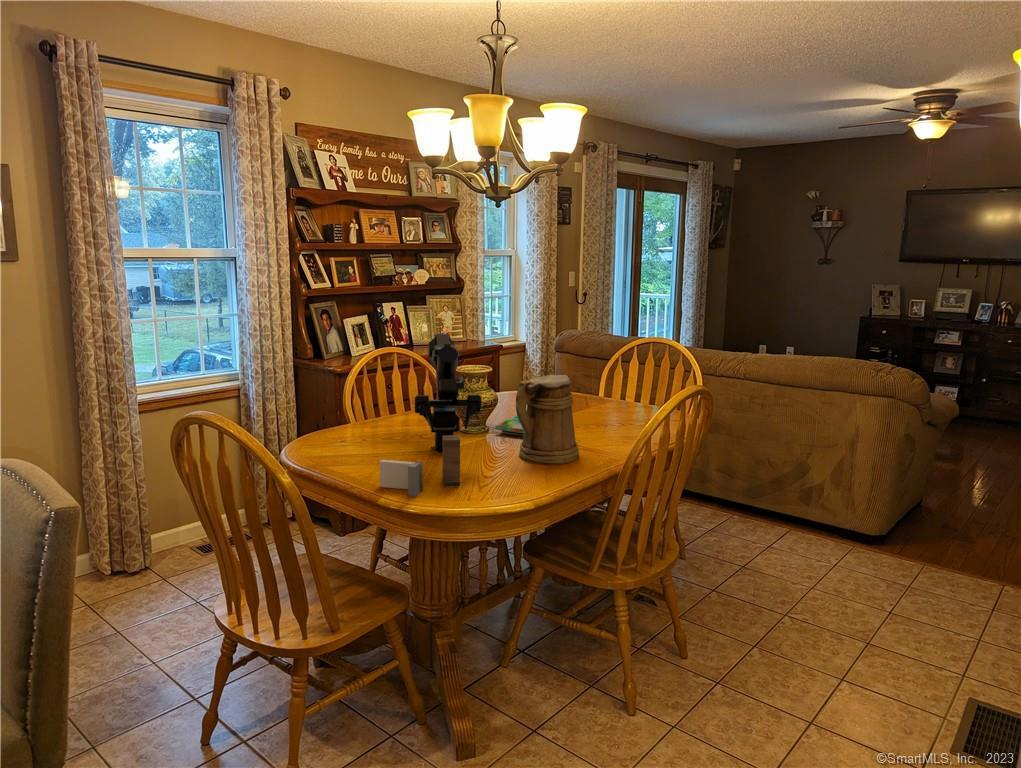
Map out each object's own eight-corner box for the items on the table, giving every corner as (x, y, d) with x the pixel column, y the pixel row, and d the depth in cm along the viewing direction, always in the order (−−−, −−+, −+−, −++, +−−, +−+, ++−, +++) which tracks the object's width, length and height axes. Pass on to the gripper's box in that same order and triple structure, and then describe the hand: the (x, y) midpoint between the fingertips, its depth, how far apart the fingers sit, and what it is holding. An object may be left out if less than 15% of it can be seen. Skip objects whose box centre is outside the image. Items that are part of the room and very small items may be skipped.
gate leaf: (423, 488, 186) (423, 462, 185) (421, 490, 184) (420, 464, 183) (382, 484, 189) (382, 458, 187) (379, 487, 187) (379, 460, 185)
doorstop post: (442, 481, 193) (442, 435, 190) (458, 481, 193) (458, 435, 191) (443, 487, 188) (443, 440, 186) (460, 486, 189) (460, 439, 186)
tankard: (590, 456, 218) (593, 377, 213) (540, 473, 201) (542, 387, 196) (546, 444, 230) (548, 369, 225) (495, 459, 213) (496, 378, 209)
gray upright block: (415, 497, 180) (415, 467, 179) (408, 496, 181) (407, 466, 179) (419, 493, 183) (419, 463, 182) (412, 492, 184) (411, 462, 182)
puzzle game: (550, 415, 252) (526, 427, 235) (550, 427, 253) (526, 440, 236) (520, 411, 257) (495, 423, 240) (520, 423, 258) (495, 436, 241)
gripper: (414, 367, 196) (415, 415, 188) (481, 366, 199) (485, 413, 190) (414, 389, 205) (415, 435, 197) (478, 388, 208) (481, 434, 199)
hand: (449, 429), depth 196 cm, fingers open, 9 cm apart
